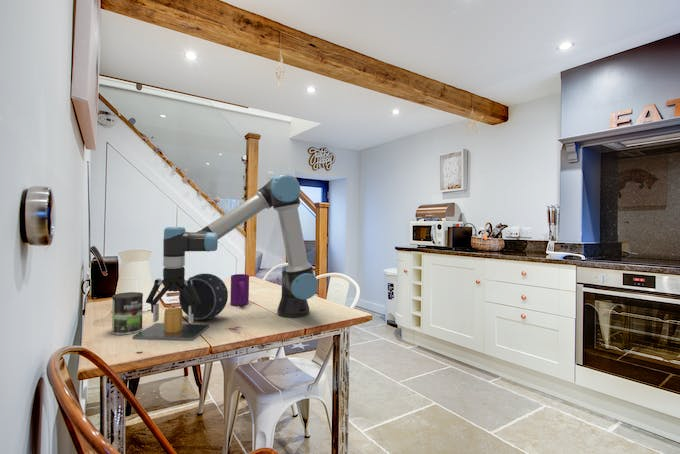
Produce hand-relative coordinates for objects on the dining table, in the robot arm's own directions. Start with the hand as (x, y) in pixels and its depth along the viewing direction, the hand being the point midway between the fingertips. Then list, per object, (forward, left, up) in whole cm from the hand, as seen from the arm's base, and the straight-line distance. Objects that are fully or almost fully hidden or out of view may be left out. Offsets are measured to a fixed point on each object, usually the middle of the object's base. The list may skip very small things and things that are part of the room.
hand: (173, 321), depth 136 cm
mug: (-13, -44, -4) cm, 46 cm away
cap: (0, 0, -3) cm, 3 cm away
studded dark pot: (-4, -19, -4) cm, 20 cm away
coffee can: (+18, -1, -4) cm, 19 cm away
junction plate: (0, 0, -4) cm, 4 cm away
